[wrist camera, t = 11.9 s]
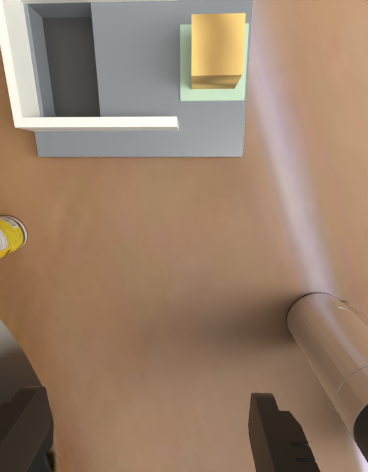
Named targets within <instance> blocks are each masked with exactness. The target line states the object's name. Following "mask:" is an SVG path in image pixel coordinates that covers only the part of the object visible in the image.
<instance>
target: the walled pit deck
mask: <svg viewBox="0 0 368 472" xmlns="http://www.w3.org/2000/svg"><path fill="white" fill-rule="evenodd" d="M228 13H246V16H245V35H244V54H243V73H242V76H241V78H240V80H239V82H238V84H237V85H236V87H235V89H192V84H191V57H192V14H228ZM251 16H252V0H0V46H1V52H2V57H3V63H4V69H5V74H6V80H7V86H8V91H9V97H10V102H11V108H12V114H13V119H14V125H15V128H20V129H25V130H29V131H34V132H35V138H36V145H37V151H38V157H51V158H74V157H243V143H244V127H245V111H246V96H247V80H248V64H249V48H250V32H251Z"/></svg>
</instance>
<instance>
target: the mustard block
mask: <svg viewBox="0 0 368 472" xmlns="http://www.w3.org/2000/svg"><path fill="white" fill-rule="evenodd" d="M245 16H246V13H228V14H192V57H191V84H192V89H235V87H236V85H237V84H238V82H239V80H240V78H241V76H242V73H243V54H244V35H245Z"/></svg>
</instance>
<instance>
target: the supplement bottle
mask: <svg viewBox="0 0 368 472" xmlns="http://www.w3.org/2000/svg"><path fill="white" fill-rule="evenodd" d="M26 240H27V233H26V229H25V227H24V226H23V224H22V223H21V222H20V221H18V220H17V219H15V218H13V217H9V216H2V217H0V258H2V257H4V256H6V255H8V254H9V253H11V252H13V251H16V250H17V249H19V248H21V247H22V246H23V245H24V244H25V242H26Z"/></svg>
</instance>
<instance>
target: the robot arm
mask: <svg viewBox="0 0 368 472" xmlns="http://www.w3.org/2000/svg"><path fill="white" fill-rule="evenodd" d="M287 325H288V328H289V330H290V332H291V334H292V336H293V338H294V339H295V340H296V342H297V344H298V346H299V348H300V349H301V351H302V353H303V354H304V356H305V358H306V359H307V361H308V363H309V365H310V366H311V368H312V370H313V371H314V373H315V375H316V376H317V378H318V380H319V381H320V383H321V385H322V387H323V388H324V390H325V392H326V393H327V395H328V397H329V398H330V400H331V402H332V403H333V405H334V407H335V409H336V410H337V412H338V414H339V415H340V417H341V419H342V420H343V422H344V424H345V425H346V427H347V429H348V430H349V432H350V434H351V436H352V437H353V439H354V441H355V442H356V444H357V446H358V447H359V449H360V451H361V452H362V454H363V456H364V457H365V459H366V460H367V462H368V320H367V319H366V318H364V317H363V316H362V315H361V314H360V313H359V312H358V311H356V310H355V309H354V308H353V307H352V306H351V305H350V304H349V303H347V302H341V301H339V300H338V299H337V298H335V297H334V296H331V295H329V294H324V293H315V294H310V295H307V296H304V297H303V298H301V299H299V300H298V301H297V302H296V303H294V305H293V306H292V307H291V309H290V311H289V313H288V316H287ZM50 423H51V412H50V407H49V402H48V397H47V392H46V388H45V387H42V386H23V387H22V388H20V389H19V390H18V392H17V393H16V394H15V396H14V397H13V398H12V399H11V401H10V402H4V403H3V404H1V405H0V472H27V470H28V469H29V467H30V465H31V463H32V461H33V459H34V457H35V456H36V454H37V452H38V450H39V448H40V446H41V444H42V443H43V441H44V439H45V437H46V435H47V433H48V430H49V427H50ZM248 427H249V438H250V444H251V449H252V453H253V458H254V463H255V468H256V472H320V470H319V468H318V465H317V463H316V462H315V458H314V456H313V453H312V451H311V449H310V447H309V445H308V441H307V439H306V437H305V434H304V432H303V430H302V427H301V425H300V424H299V423H298V422H297V420H296V419H295V418H294V417H293V415H292V414H291V413H290V412H289V411H279V409H278V407H277V404H276V401H275V398H274V396H273V394H271V393H252V394H251V401H250V411H249V422H248Z"/></svg>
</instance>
